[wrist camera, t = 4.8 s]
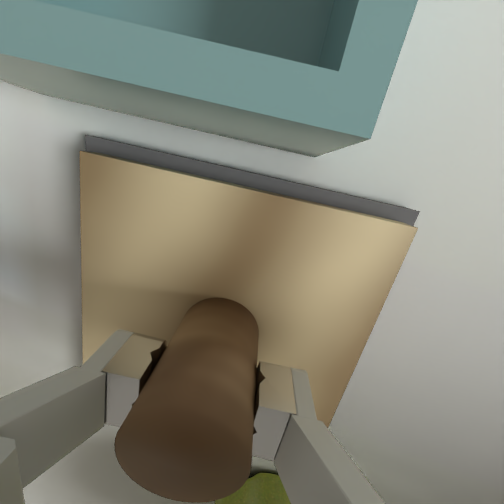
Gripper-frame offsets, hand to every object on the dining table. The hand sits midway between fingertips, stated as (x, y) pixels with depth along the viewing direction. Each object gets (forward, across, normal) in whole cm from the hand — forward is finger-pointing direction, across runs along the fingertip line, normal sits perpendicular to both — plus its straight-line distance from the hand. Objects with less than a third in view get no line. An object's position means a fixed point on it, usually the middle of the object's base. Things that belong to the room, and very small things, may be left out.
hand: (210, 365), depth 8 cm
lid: (+3, 0, 0) cm, 3 cm away
